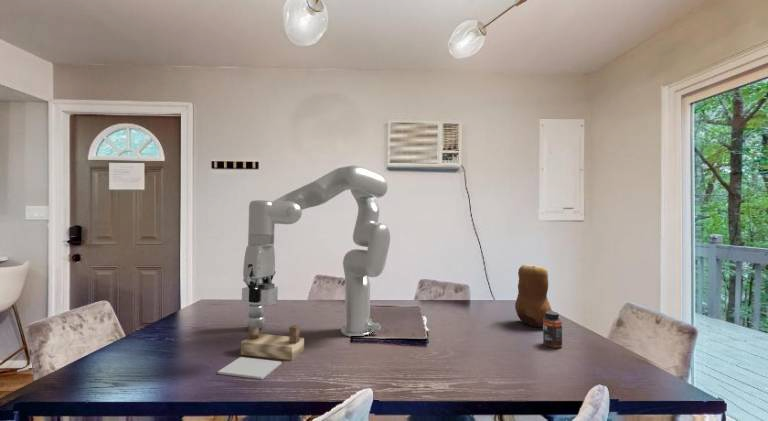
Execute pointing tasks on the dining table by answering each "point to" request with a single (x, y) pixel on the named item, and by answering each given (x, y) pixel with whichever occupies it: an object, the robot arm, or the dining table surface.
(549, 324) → the supplement bottle
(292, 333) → the wooden peg stand
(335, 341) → the dining table surface
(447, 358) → the dining table surface
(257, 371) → the mat
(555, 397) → the dining table surface
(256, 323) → the plastic bottle
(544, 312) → the butternut squash
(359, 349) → the dining table surface
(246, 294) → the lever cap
